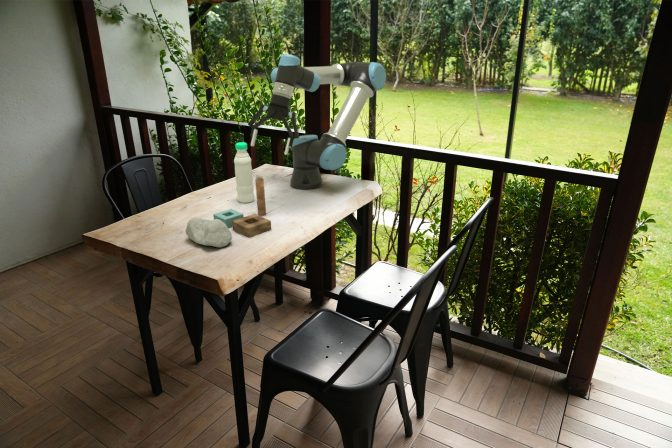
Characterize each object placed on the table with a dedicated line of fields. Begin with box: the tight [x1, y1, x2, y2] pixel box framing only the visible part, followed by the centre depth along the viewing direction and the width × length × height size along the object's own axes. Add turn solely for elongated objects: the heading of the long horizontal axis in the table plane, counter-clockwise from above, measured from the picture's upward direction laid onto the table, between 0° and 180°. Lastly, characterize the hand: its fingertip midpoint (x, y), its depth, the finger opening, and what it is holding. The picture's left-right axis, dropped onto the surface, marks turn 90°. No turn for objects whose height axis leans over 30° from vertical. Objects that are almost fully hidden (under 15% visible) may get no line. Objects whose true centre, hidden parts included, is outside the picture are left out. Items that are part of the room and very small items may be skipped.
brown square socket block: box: [232, 213, 272, 238], centre depth 171 cm, size 10×10×4 cm
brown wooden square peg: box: [254, 174, 267, 217], centre depth 183 cm, size 3×3×16 cm
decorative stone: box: [185, 217, 233, 248], centre depth 160 cm, size 17×10×10 cm
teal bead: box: [213, 208, 244, 229], centre depth 177 cm, size 8×8×4 cm
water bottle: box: [233, 141, 255, 204], centre depth 196 cm, size 7×7×25 cm
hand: (269, 150), depth 182 cm, fingers open, 13 cm apart
